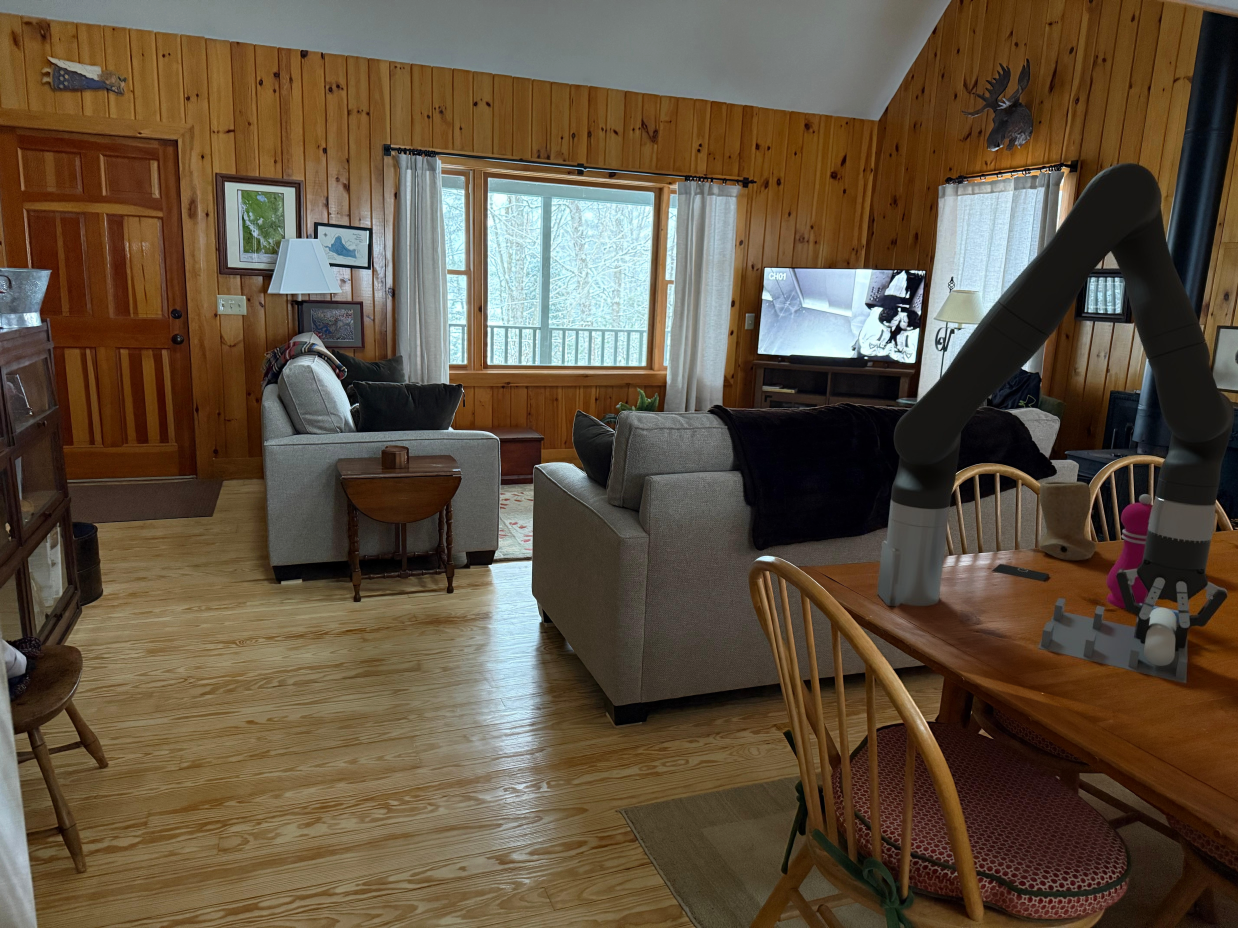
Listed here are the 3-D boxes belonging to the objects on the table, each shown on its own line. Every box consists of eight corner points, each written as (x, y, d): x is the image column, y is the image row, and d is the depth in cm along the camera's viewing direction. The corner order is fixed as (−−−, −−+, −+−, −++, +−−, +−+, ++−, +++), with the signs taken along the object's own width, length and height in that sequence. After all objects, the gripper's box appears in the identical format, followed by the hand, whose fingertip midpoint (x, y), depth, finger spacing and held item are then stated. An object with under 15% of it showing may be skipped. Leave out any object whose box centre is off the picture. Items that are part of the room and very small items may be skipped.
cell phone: (1049, 578, 157) (1049, 573, 157) (1026, 603, 143) (1026, 598, 143) (999, 567, 163) (1000, 563, 162) (972, 590, 149) (973, 585, 148)
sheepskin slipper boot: (1037, 538, 183) (1046, 472, 180) (1098, 549, 176) (1109, 480, 173) (1023, 554, 171) (1033, 483, 168) (1089, 566, 164) (1100, 492, 161)
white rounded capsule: (1172, 668, 113) (1176, 644, 112) (1142, 661, 115) (1146, 637, 114) (1174, 632, 126) (1178, 610, 125) (1147, 626, 128) (1151, 605, 127)
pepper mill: (1159, 619, 137) (1180, 501, 133) (1111, 614, 138) (1130, 497, 134) (1142, 603, 144) (1161, 491, 140) (1096, 599, 145) (1114, 487, 141)
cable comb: (1185, 689, 111) (1191, 654, 110) (1036, 654, 121) (1041, 621, 120) (1186, 644, 127) (1191, 613, 126) (1054, 616, 137) (1059, 587, 136)
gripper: (1119, 527, 118) (1101, 641, 121) (1242, 546, 110) (1219, 668, 114) (1123, 516, 124) (1105, 625, 127) (1240, 534, 116) (1218, 650, 120)
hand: (1159, 645), depth 120 cm, fingers closed on white rounded capsule, 3 cm apart
